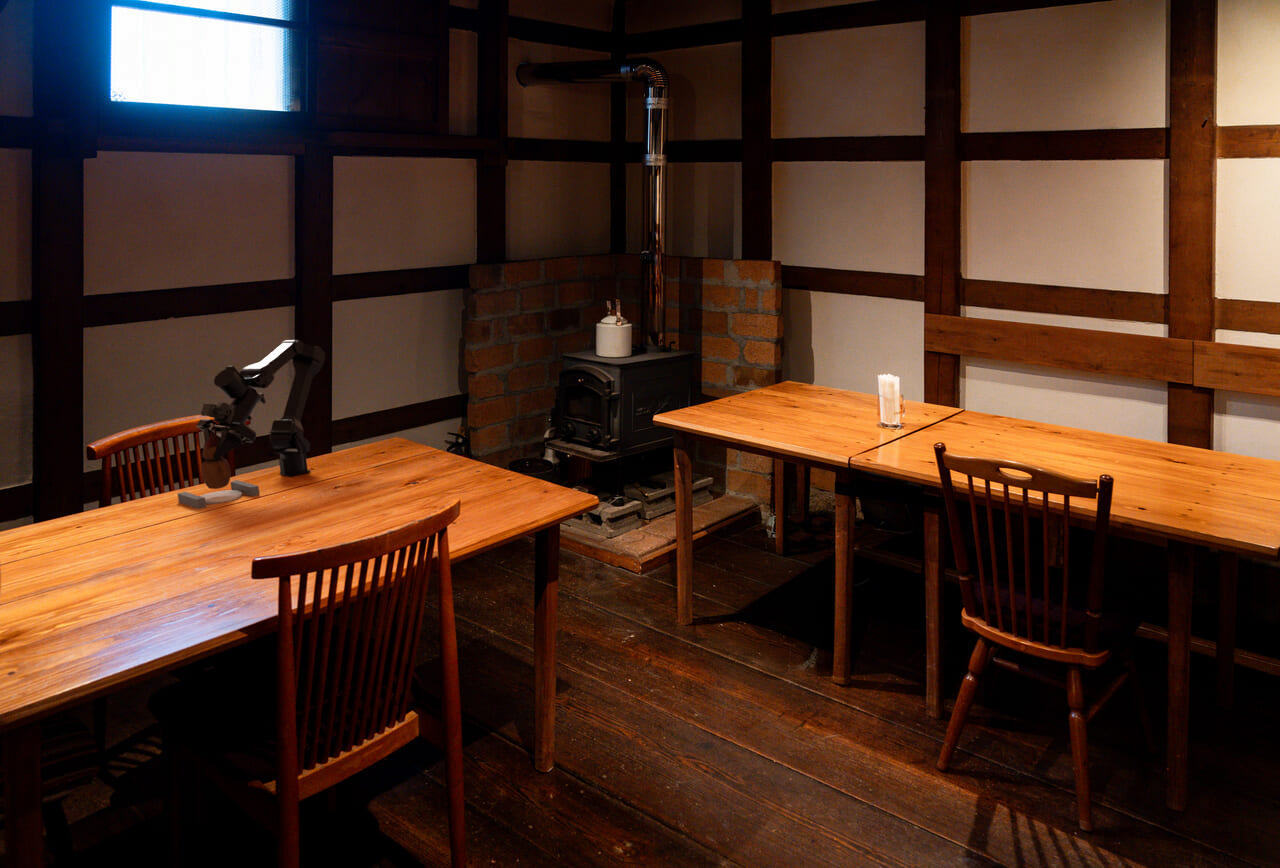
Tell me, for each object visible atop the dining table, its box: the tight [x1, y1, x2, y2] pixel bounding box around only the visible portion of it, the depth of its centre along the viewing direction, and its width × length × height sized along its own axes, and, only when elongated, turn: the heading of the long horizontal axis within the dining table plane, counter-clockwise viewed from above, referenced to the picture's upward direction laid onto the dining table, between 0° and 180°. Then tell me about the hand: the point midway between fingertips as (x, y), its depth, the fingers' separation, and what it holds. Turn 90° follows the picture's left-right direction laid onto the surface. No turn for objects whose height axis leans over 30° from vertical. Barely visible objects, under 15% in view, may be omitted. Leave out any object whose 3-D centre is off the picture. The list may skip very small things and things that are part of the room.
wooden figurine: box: [200, 430, 232, 490], centre depth 254 cm, size 7×6×15 cm
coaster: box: [199, 489, 243, 505], centre depth 255 cm, size 11×11×1 cm
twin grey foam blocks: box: [176, 479, 260, 510], centre depth 255 cm, size 16×12×2 cm
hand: (208, 457), depth 252 cm, fingers closed on wooden figurine, 5 cm apart
